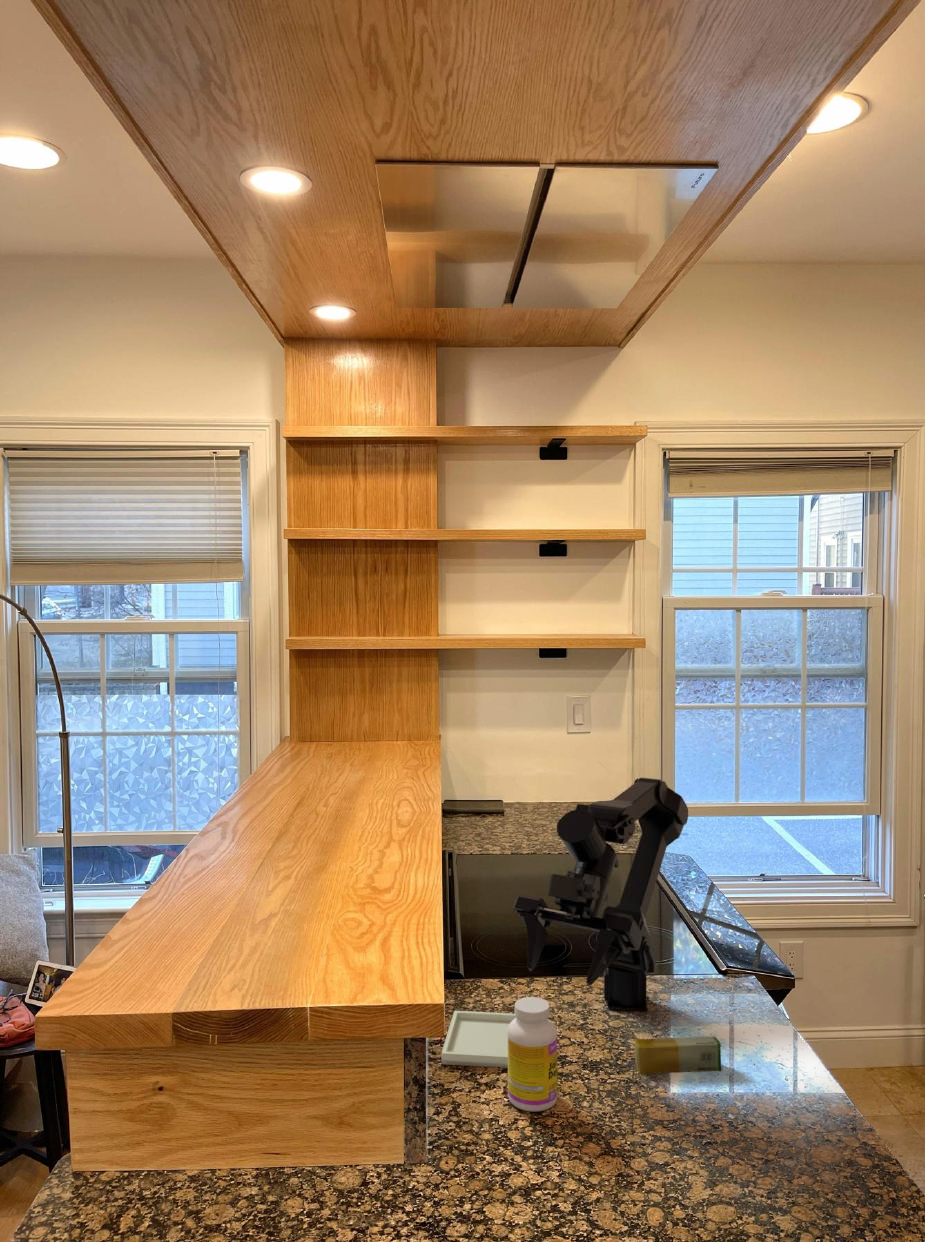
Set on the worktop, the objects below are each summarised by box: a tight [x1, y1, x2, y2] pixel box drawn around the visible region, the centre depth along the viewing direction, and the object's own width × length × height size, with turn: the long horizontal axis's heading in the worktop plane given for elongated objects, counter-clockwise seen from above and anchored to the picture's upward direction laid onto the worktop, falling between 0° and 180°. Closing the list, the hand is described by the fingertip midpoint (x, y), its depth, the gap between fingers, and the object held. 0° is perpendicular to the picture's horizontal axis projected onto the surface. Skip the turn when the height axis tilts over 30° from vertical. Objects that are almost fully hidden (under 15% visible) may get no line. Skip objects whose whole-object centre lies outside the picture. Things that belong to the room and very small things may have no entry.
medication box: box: [634, 1035, 723, 1075], centre depth 124 cm, size 12×3×4 cm, turn 92°
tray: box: [440, 1010, 516, 1069], centre depth 131 cm, size 13×13×2 cm
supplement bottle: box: [507, 996, 559, 1113], centre depth 116 cm, size 7×7×13 cm
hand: (558, 976), depth 123 cm, fingers open, 9 cm apart
